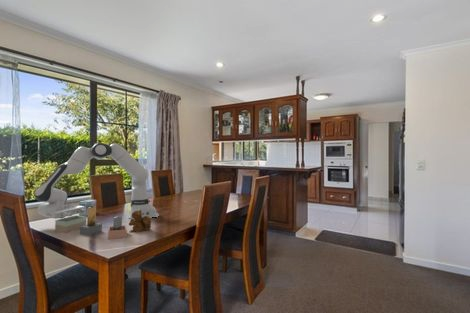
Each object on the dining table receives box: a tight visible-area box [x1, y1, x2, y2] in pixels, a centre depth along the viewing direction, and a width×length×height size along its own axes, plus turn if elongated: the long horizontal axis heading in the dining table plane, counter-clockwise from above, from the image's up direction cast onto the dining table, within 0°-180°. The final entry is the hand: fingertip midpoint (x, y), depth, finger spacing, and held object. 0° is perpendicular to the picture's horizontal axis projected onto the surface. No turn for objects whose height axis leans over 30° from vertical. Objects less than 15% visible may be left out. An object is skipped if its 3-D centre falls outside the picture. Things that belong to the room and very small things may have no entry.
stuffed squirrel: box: [128, 210, 152, 233], centre depth 156 cm, size 10×14×13 cm
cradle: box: [79, 222, 103, 236], centre depth 148 cm, size 9×7×5 cm
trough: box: [54, 215, 87, 234], centre depth 156 cm, size 14×9×7 cm, turn 164°
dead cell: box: [112, 215, 123, 231], centre depth 144 cm, size 4×4×12 cm
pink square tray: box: [107, 224, 128, 240], centre depth 144 cm, size 10×10×5 cm
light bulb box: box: [78, 199, 97, 217], centre depth 195 cm, size 11×7×11 cm, turn 168°
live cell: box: [86, 206, 97, 226], centre depth 148 cm, size 4×4×12 cm
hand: (77, 213), depth 151 cm, fingers open, 8 cm apart
